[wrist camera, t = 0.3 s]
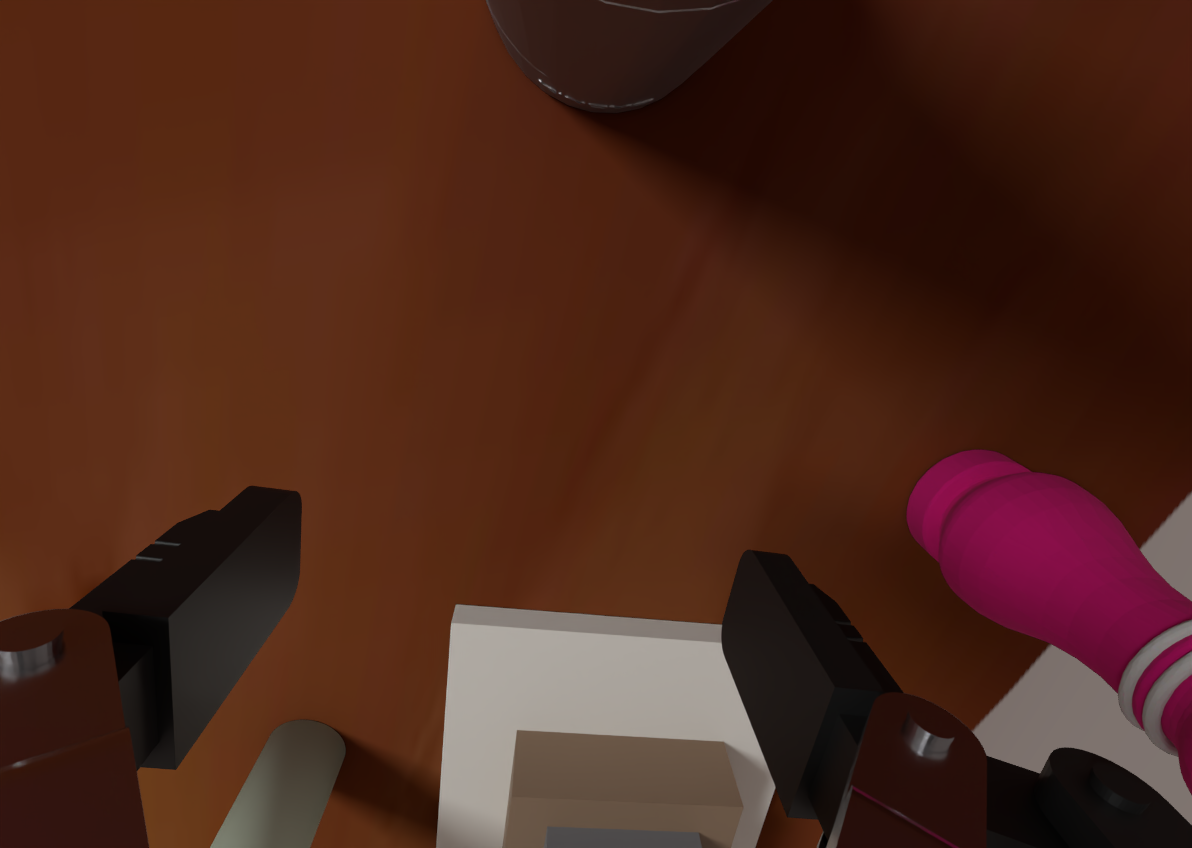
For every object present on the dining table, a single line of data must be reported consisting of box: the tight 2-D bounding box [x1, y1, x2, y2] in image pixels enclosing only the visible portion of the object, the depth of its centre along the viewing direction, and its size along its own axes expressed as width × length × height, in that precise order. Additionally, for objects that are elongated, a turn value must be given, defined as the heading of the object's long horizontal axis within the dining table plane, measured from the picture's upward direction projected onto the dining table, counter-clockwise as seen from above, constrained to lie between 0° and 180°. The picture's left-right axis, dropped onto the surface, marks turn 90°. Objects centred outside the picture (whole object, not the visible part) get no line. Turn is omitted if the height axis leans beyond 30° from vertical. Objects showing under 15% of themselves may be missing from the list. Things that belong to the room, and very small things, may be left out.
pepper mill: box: [907, 450, 1192, 795], centre depth 22 cm, size 7×7×20 cm
